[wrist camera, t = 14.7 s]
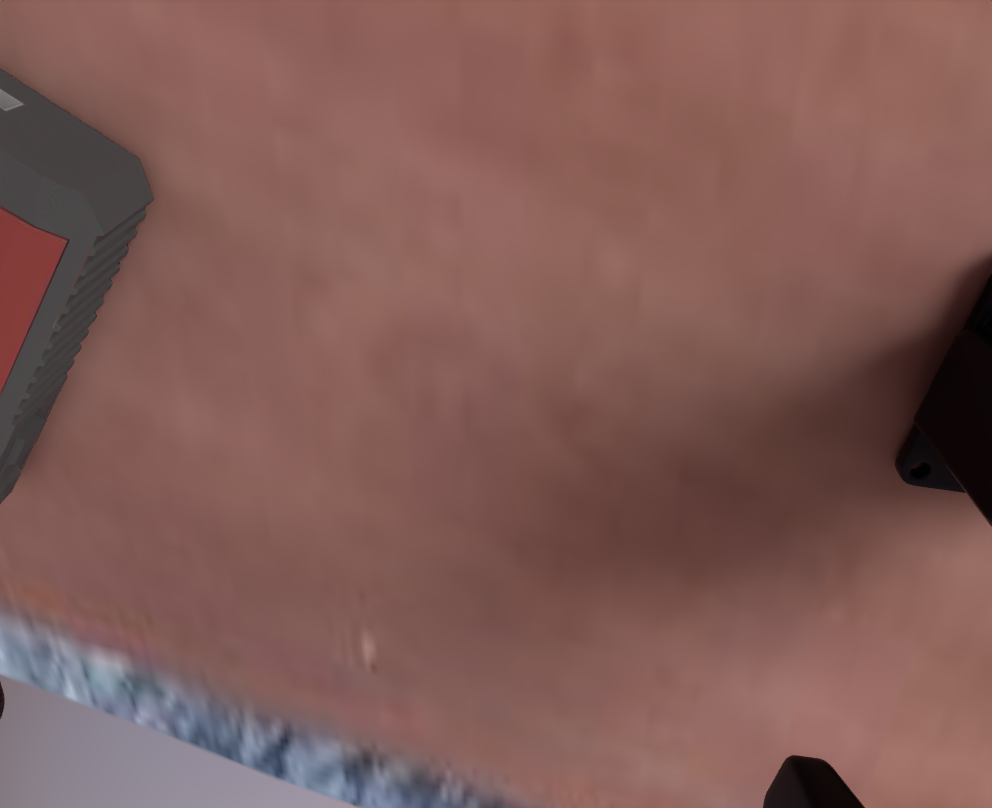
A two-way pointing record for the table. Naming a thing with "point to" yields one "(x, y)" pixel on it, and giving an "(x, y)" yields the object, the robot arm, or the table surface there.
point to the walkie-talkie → (53, 253)
